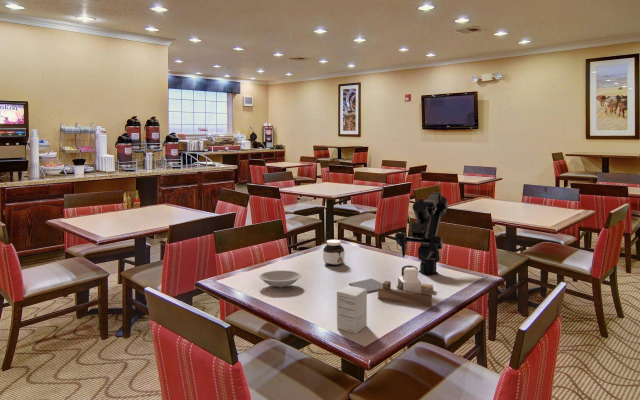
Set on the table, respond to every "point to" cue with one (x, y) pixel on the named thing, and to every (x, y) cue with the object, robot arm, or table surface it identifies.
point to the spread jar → (333, 253)
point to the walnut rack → (405, 295)
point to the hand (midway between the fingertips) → (414, 258)
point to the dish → (280, 278)
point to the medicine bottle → (409, 280)
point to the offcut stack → (425, 286)
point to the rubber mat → (368, 285)
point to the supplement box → (351, 309)
